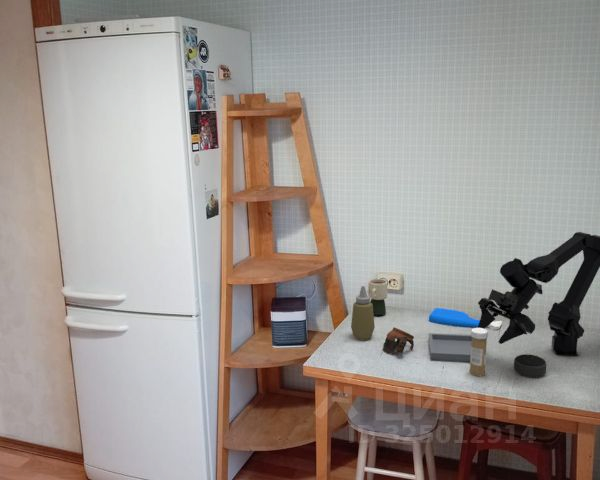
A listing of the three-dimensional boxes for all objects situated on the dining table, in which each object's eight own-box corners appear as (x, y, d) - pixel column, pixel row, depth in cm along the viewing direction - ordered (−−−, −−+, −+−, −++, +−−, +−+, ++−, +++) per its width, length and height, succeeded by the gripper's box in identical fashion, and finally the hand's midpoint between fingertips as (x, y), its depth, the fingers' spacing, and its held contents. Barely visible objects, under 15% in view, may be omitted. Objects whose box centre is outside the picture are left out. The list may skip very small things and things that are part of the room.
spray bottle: (427, 315, 212) (498, 327, 201) (435, 306, 221) (503, 316, 210) (427, 323, 212) (497, 335, 201) (435, 313, 222) (502, 324, 211)
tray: (477, 342, 194) (478, 335, 193) (484, 363, 178) (485, 355, 178) (428, 340, 196) (428, 333, 196) (430, 360, 181) (431, 352, 180)
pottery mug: (377, 347, 193) (387, 324, 194) (403, 358, 194) (413, 335, 194) (386, 352, 181) (397, 328, 182) (413, 365, 182) (424, 340, 182)
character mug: (373, 308, 227) (373, 276, 224) (391, 310, 224) (391, 278, 221) (363, 317, 218) (363, 284, 215) (381, 320, 215) (382, 286, 212)
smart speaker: (508, 373, 172) (509, 360, 171) (520, 363, 178) (521, 350, 177) (539, 382, 166) (540, 369, 165) (550, 371, 173) (551, 358, 172)
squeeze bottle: (347, 339, 198) (347, 289, 194) (354, 331, 205) (355, 282, 201) (371, 343, 195) (371, 291, 191) (377, 334, 202) (377, 284, 198)
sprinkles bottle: (488, 373, 171) (491, 330, 168) (478, 377, 169) (480, 334, 166) (476, 368, 175) (478, 325, 172) (465, 372, 173) (468, 329, 170)
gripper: (484, 272, 178) (453, 311, 176) (530, 289, 161) (496, 333, 159) (503, 293, 182) (472, 332, 181) (549, 312, 166) (516, 355, 164)
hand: (488, 337), depth 171 cm, fingers open, 9 cm apart
